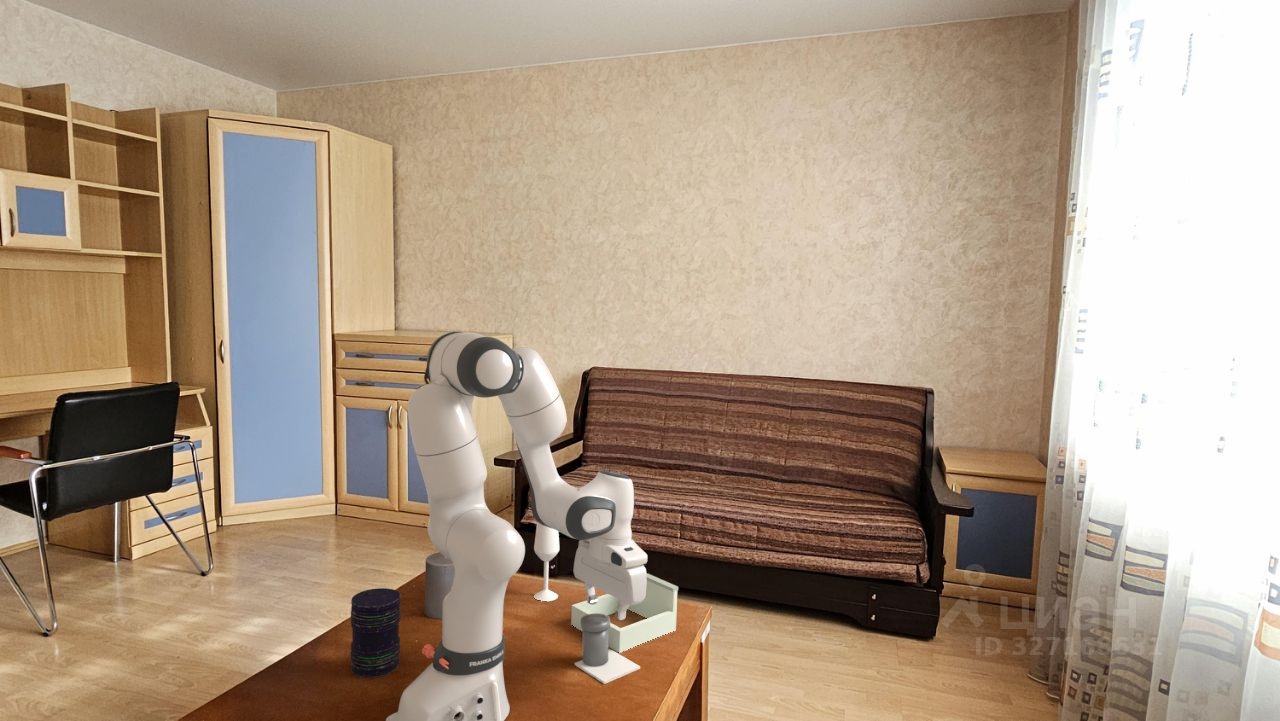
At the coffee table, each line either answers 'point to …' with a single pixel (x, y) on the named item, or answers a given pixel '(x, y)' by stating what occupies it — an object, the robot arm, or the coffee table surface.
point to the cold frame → (654, 608)
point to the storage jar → (375, 632)
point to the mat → (609, 668)
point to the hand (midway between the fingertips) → (605, 610)
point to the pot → (595, 638)
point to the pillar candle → (437, 583)
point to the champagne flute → (546, 556)
